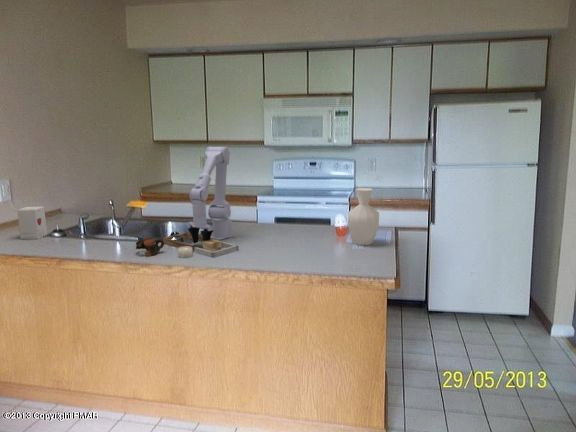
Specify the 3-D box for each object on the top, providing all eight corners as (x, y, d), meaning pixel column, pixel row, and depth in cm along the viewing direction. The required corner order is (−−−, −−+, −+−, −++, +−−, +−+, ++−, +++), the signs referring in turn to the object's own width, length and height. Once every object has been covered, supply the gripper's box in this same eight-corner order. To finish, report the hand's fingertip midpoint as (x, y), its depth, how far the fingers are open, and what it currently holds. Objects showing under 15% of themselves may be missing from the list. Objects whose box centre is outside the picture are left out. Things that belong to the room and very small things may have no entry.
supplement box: (38, 239, 224) (34, 209, 221) (20, 239, 224) (16, 209, 221) (48, 234, 233) (44, 206, 230) (30, 234, 233) (27, 206, 230)
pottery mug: (140, 259, 190) (133, 241, 192) (141, 263, 199) (134, 246, 200) (167, 249, 194) (160, 231, 196) (167, 253, 203) (161, 236, 204)
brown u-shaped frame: (187, 237, 224) (186, 232, 224) (217, 244, 210) (217, 239, 209) (162, 243, 214) (161, 238, 213) (192, 251, 199) (191, 246, 199)
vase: (342, 245, 207) (343, 190, 202) (353, 237, 219) (354, 186, 214) (373, 248, 201) (374, 192, 195) (382, 241, 213) (384, 188, 208)
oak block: (212, 247, 205) (212, 239, 204) (221, 249, 201) (221, 241, 201) (203, 250, 201) (202, 241, 200) (211, 252, 197) (211, 243, 196)
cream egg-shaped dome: (186, 253, 197) (186, 245, 197) (195, 255, 193) (195, 247, 193) (175, 256, 193) (174, 248, 192) (184, 259, 189) (183, 250, 188)
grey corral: (220, 245, 209) (220, 241, 208) (238, 249, 201) (238, 245, 201) (195, 252, 198) (194, 247, 198) (213, 257, 190) (213, 252, 190)
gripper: (182, 214, 205) (184, 243, 208) (202, 218, 196) (204, 248, 198) (194, 211, 210) (196, 240, 213) (215, 215, 201) (216, 245, 204)
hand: (201, 244), depth 206 cm, fingers open, 7 cm apart
